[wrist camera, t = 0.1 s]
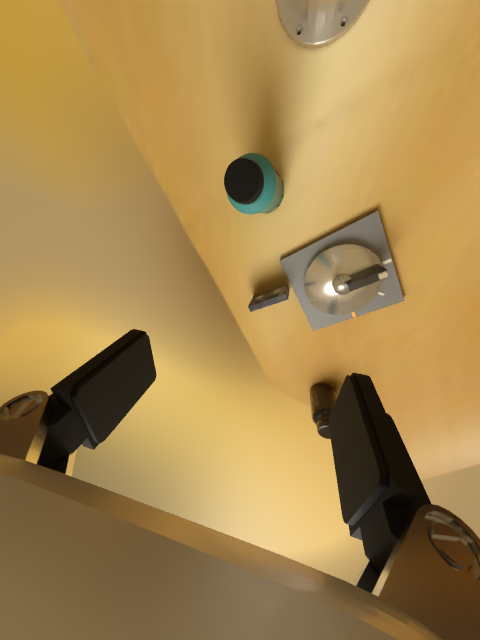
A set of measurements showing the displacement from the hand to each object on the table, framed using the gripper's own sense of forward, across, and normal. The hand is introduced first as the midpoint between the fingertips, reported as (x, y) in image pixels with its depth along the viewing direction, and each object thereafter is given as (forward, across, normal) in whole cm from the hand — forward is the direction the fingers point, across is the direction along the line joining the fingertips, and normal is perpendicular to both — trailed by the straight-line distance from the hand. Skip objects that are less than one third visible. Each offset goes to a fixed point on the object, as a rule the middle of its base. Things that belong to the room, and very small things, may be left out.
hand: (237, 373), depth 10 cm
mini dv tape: (+38, +1, +10) cm, 39 cm away
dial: (+36, -12, +5) cm, 38 cm away
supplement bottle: (+38, -17, +37) cm, 55 cm away
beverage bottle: (+37, +4, -9) cm, 39 cm away
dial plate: (+37, -12, +5) cm, 39 cm away
